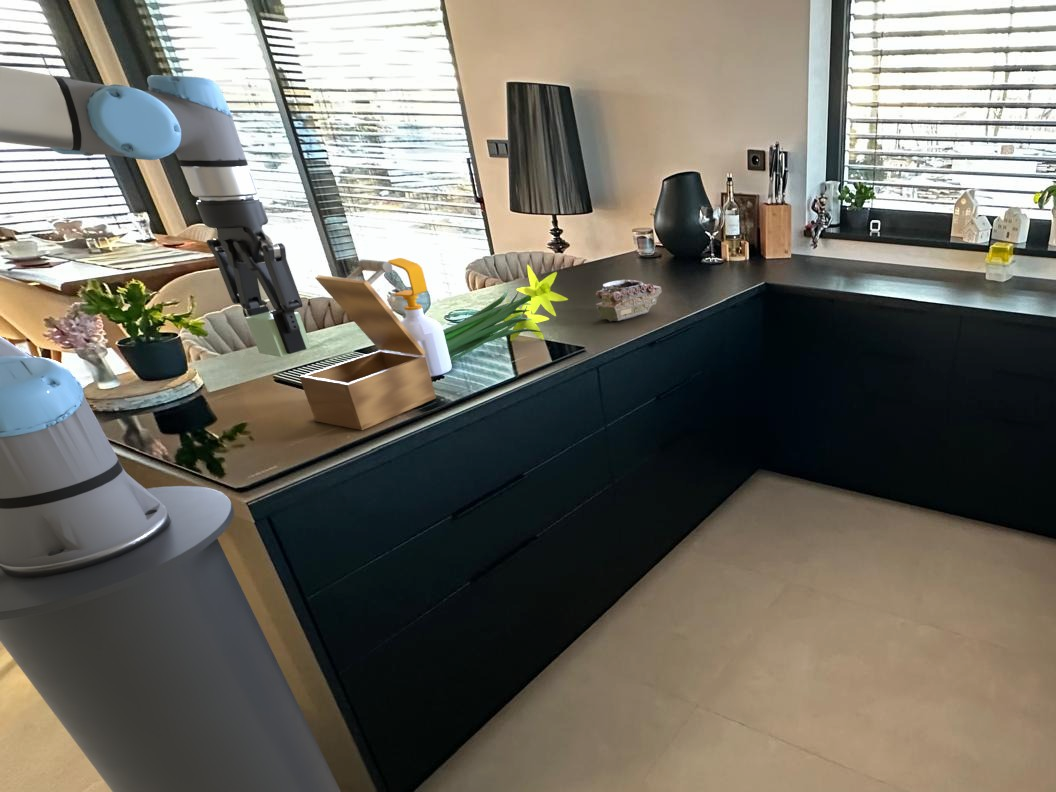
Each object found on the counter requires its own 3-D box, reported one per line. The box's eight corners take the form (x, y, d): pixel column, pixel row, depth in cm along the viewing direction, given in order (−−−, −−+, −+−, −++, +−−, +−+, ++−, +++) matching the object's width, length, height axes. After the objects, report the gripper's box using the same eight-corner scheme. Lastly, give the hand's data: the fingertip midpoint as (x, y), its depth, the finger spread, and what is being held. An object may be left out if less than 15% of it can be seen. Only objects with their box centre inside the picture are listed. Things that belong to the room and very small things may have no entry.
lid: (363, 283, 109) (394, 254, 113) (314, 277, 112) (346, 249, 116) (423, 355, 122) (449, 327, 127) (378, 349, 125) (405, 321, 130)
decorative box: (587, 316, 185) (582, 283, 180) (642, 305, 198) (639, 274, 194) (613, 325, 177) (609, 290, 173) (669, 312, 191) (666, 280, 186)
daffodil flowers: (421, 354, 153) (543, 295, 172) (457, 394, 151) (578, 329, 169) (402, 308, 139) (538, 249, 157) (442, 351, 137) (576, 285, 155)
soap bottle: (424, 363, 145) (395, 254, 134) (460, 366, 144) (434, 256, 133) (397, 376, 137) (364, 262, 126) (435, 379, 136) (405, 264, 125)
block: (281, 357, 100) (267, 320, 97) (259, 353, 101) (244, 317, 99) (311, 347, 104) (299, 312, 101) (290, 344, 106) (277, 309, 103)
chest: (362, 430, 113) (347, 384, 109) (315, 421, 116) (298, 376, 112) (436, 398, 127) (425, 356, 123) (392, 390, 130) (380, 349, 126)
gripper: (297, 198, 93) (346, 348, 103) (214, 192, 98) (269, 336, 108) (243, 203, 86) (301, 362, 97) (157, 196, 91) (221, 349, 102)
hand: (284, 348), depth 103 cm, fingers closed on block, 5 cm apart
